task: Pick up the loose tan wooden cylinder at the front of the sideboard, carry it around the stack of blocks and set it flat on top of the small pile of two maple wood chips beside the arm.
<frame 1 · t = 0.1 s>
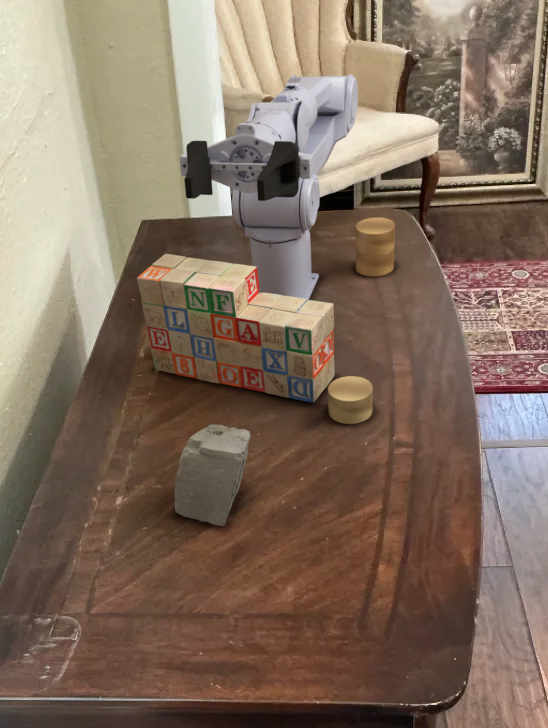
hand: (224, 189, 88), 22 cm above the table, tool horizontal, fingers open, 7 cm apart
mineral specimen: (219, 502, 86), on the table
pile chip top: (375, 247, 117), point 3 cm above the table, touching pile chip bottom
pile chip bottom: (374, 267, 119), on the table, touching pile chip top
stack of blocks: (242, 374, 103), on the table
tan wooden cylinder: (350, 411, 95), on the table
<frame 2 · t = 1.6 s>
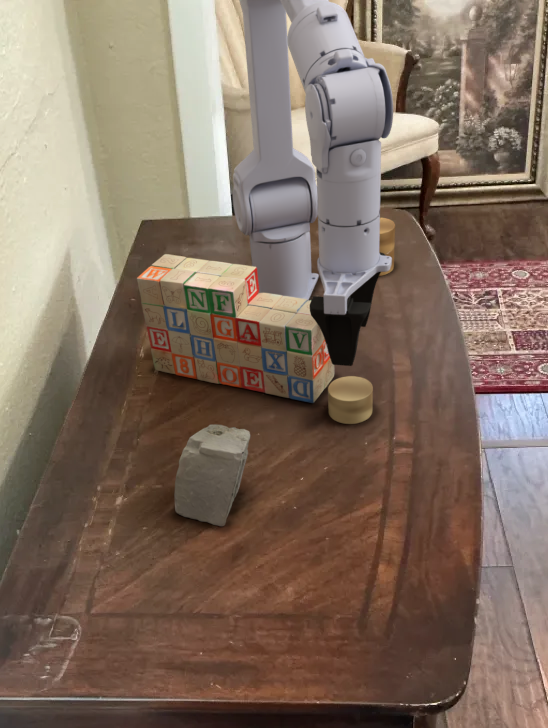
hand: (349, 343, 89), 8 cm above the table, tool pointing down, fingers open, 7 cm apart
nothing on the table moved.
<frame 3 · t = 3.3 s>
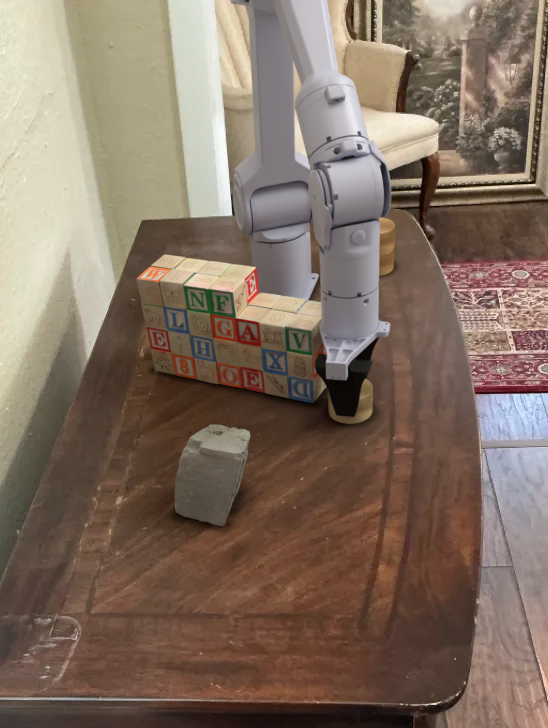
hand: (350, 400, 94), 1 cm above the table, tool pointing down, fingers closed on tan wooden cylinder, 5 cm apart
tan wooden cylinder: (350, 411, 95), on the table, touching gripper
everything else where it was.
when the fingers open (7 cm above the table, at t = 8.3 s): tan wooden cylinder stays where it is, resting on pile chip top.
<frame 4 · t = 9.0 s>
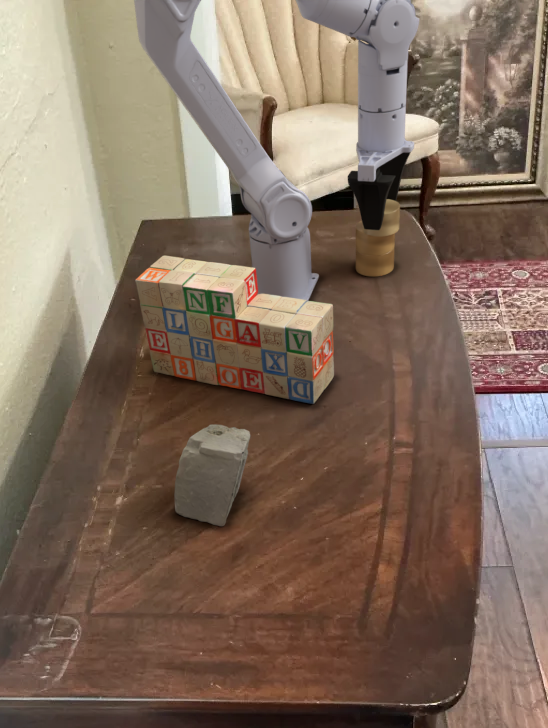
hand: (379, 216, 113), 8 cm above the table, tool pointing down, fingers open, 7 cm apart
pile chip top: (375, 247, 117), point 3 cm above the table, touching tan wooden cylinder, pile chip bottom
tan wooden cylinder: (380, 228, 114), point 6 cm above the table, touching pile chip top
everything else where it was.
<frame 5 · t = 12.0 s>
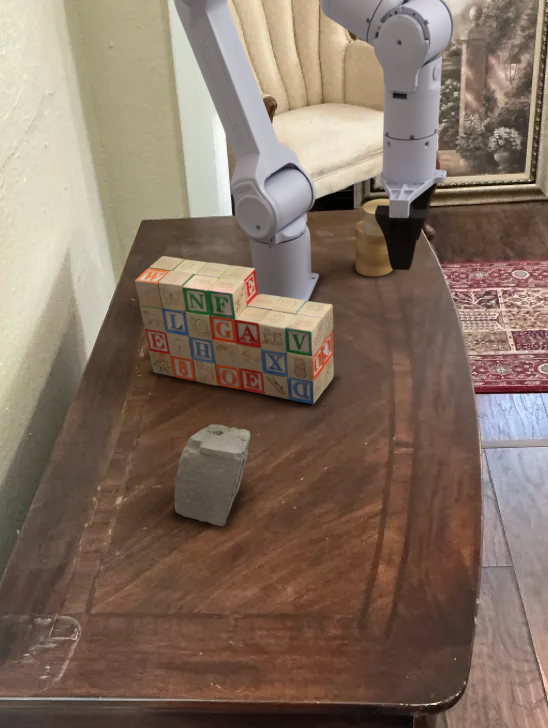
hand: (405, 253, 101), 9 cm above the table, tool pointing down, fingers open, 7 cm apart
nothing on the table moved.
at the end: tan wooden cylinder 1.3 cm off-centre on the pile chip top, point 3.0 cm above the pile chip top's base; tan wooden cylinder tilted 0°; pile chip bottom moved 0.0 cm from its start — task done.
